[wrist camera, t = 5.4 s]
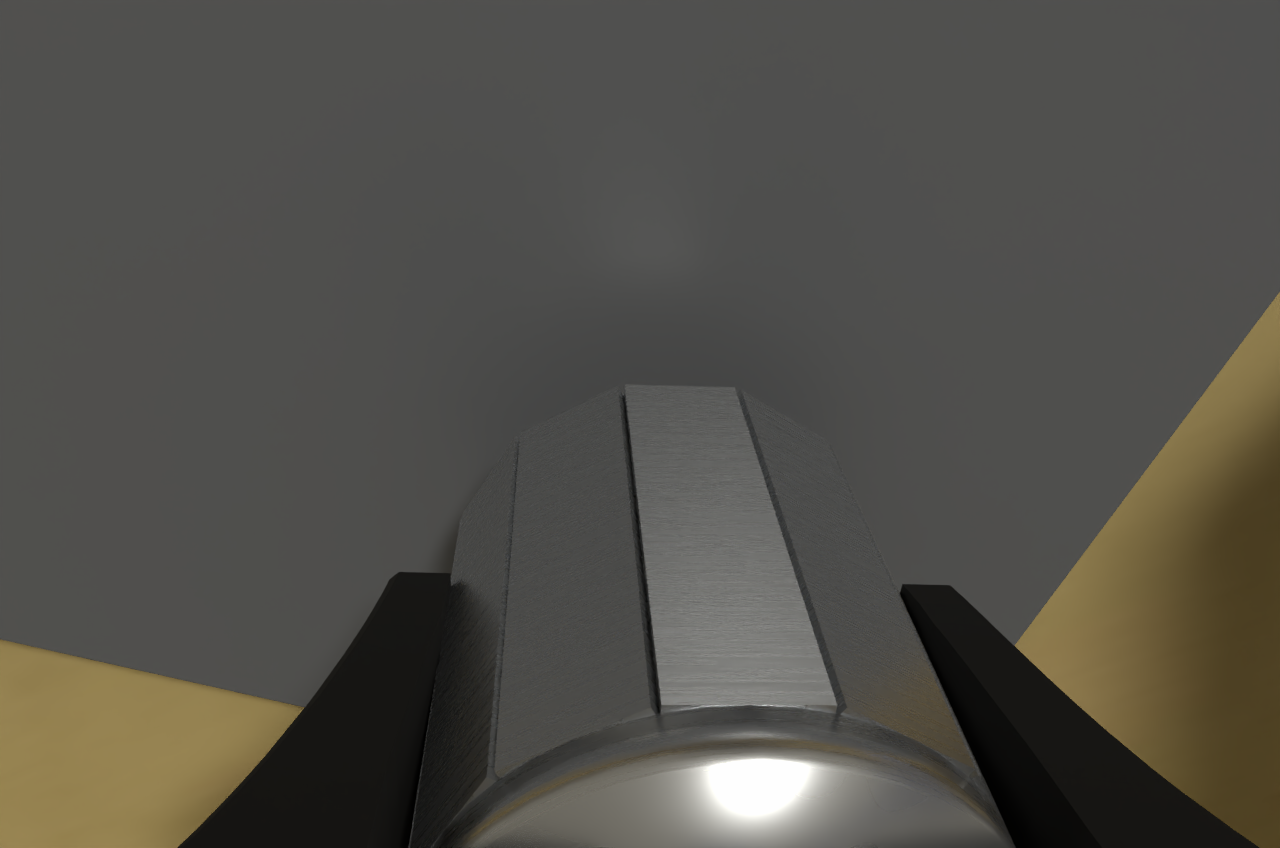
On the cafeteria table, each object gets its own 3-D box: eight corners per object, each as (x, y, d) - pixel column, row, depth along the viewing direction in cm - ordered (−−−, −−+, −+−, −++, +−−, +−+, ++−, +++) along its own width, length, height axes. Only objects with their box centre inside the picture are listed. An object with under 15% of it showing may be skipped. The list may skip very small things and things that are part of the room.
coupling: (894, 391, 13) (1126, 764, 7) (828, 711, 15) (965, 1154, 10) (456, 379, 12) (376, 767, 7) (465, 711, 15) (411, 1176, 10)
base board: (1684, -355, 12) (1773, -368, 11) (860, 791, 21) (872, 834, 20) (-363, -1765, 7) (-499, -1999, 6) (-269, 527, 16) (-316, 568, 15)
